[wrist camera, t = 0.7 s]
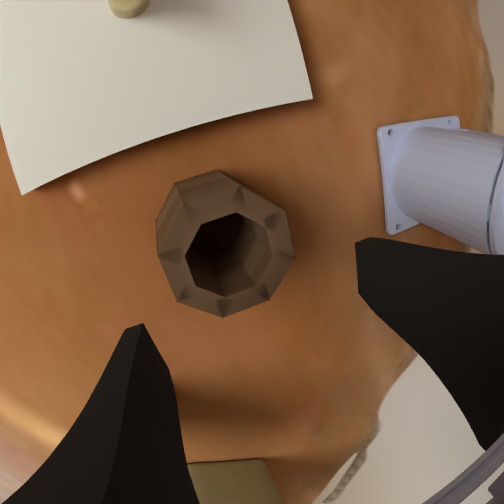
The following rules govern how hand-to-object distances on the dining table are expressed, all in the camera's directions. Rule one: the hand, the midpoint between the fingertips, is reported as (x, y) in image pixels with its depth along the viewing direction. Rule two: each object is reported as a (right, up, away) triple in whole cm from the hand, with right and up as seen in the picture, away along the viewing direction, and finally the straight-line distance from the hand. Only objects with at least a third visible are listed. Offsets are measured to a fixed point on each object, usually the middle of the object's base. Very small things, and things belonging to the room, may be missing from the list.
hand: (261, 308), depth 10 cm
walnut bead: (-3, +3, +8) cm, 9 cm away
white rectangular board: (-6, +13, +2) cm, 15 cm away
